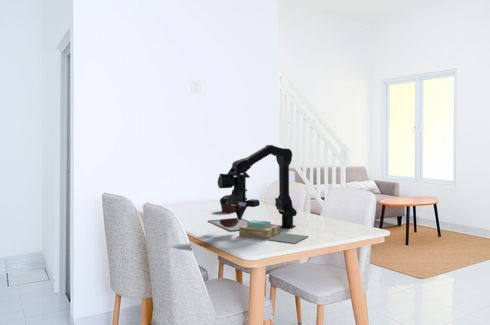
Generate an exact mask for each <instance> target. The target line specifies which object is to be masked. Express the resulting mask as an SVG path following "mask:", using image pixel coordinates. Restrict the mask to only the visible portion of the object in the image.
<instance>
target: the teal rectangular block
mask: <svg viewBox="0 0 490 325" xmlns="http://www.w3.org/2000/svg"><path fill="white" fill-rule="evenodd" d="M248 221H249V222H247V226H248V227H257V228H267V227H270V226H271V221H268V220H267V221H266V220H265V221H264V220H257V219H253V220H248Z"/></svg>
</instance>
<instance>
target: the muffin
mask: <svg viewBox="0 0 490 325" xmlns="http://www.w3.org/2000/svg"><path fill="white" fill-rule="evenodd" d="M229 195H230V194H226V195H223V196H222V197H221V198H225V197H228V196H229ZM221 198H220V199H219V201H220V200H221ZM220 206H221V212H222V213H224V212H225V213H224V214H233V213H235V214H236V212H235V210H234V208H233V207H231V204H230V205H228V203H227V204H220Z"/></svg>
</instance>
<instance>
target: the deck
mask: <svg viewBox="0 0 490 325" xmlns="http://www.w3.org/2000/svg"><path fill="white" fill-rule="evenodd" d="M280 226H281V224H271V226H270V227H267V228H257V227H248V226H247V225H245V226H242V227H239V231H238V233H239V234H238V236H239V237H242V238H249V239H251V238H252V239H256V240H257V239H259V240H266V241H268V240H267V239H269V238H271V237H273V236H276V235H278V234H280V233H281V227H280Z"/></svg>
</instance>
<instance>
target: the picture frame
mask: <svg viewBox="0 0 490 325" xmlns="http://www.w3.org/2000/svg"><path fill="white" fill-rule="evenodd" d="M249 221H250V220H247V219H245V218H243V217H242V218H241V220H238V217H231V218H230V217H229V218H221V219H210V220H207V222H208V223H210V222H211V223H210V224H212V223H213V225H214V224H215V226H217V227H219V228H221V229H222V230H223V229H224V230H226V231H228V232H230V233H231V232H233V233H234V232H239V227H242V226H245V225H247V222H249Z"/></svg>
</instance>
